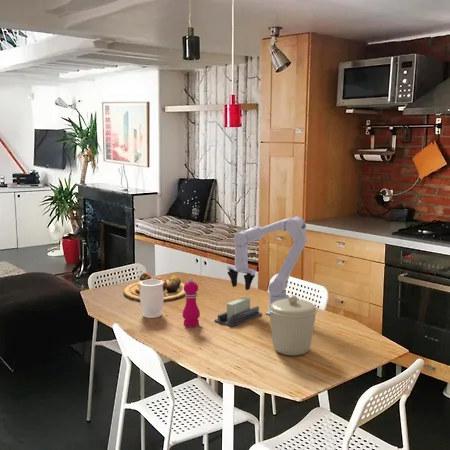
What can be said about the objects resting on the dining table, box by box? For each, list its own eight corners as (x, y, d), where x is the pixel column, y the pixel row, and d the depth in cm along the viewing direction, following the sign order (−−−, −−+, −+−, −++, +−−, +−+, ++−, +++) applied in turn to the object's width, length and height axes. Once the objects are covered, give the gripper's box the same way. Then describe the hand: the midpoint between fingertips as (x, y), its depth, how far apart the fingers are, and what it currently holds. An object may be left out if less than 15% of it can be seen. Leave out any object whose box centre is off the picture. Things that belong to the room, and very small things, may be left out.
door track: (244, 309, 252) (244, 302, 252) (262, 314, 246) (262, 307, 245) (214, 321, 237) (214, 314, 237) (232, 327, 231) (232, 319, 230)
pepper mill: (197, 328, 230) (197, 281, 226) (180, 326, 231) (179, 280, 228) (201, 322, 237) (201, 276, 233) (185, 320, 238) (184, 275, 235)
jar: (162, 319, 240) (161, 285, 237) (138, 319, 240) (137, 285, 237) (165, 311, 250) (164, 278, 248) (142, 311, 251) (141, 278, 248)
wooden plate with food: (120, 286, 289) (119, 271, 287) (180, 281, 298) (180, 266, 297) (128, 307, 259) (127, 290, 257) (195, 300, 268) (195, 283, 267)
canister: (284, 337, 220) (285, 285, 216) (325, 349, 209) (327, 294, 205) (257, 351, 206) (258, 296, 202) (299, 364, 195) (301, 306, 191)
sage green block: (244, 312, 247) (244, 296, 246) (250, 313, 245) (251, 298, 243) (226, 319, 238) (226, 303, 237) (233, 321, 236) (233, 305, 234)
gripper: (223, 257, 251) (223, 286, 253) (248, 262, 242) (248, 293, 244) (233, 254, 256) (233, 283, 259) (258, 259, 247) (258, 289, 249)
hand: (241, 287), depth 252 cm, fingers open, 7 cm apart
